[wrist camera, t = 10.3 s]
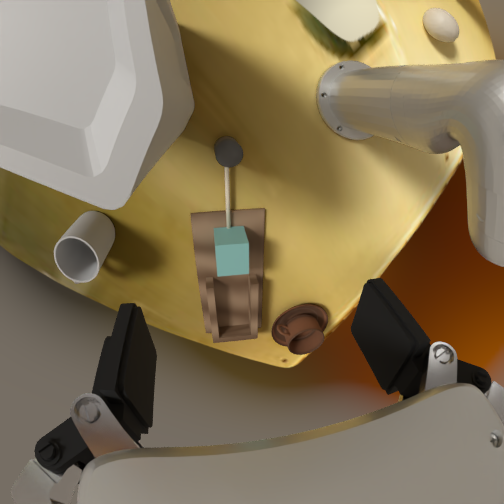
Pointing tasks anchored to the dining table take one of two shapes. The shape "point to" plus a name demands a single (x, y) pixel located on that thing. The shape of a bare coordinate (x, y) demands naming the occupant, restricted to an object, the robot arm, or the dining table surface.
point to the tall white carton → (90, 93)
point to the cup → (85, 246)
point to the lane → (234, 286)
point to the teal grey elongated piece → (229, 238)
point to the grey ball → (441, 25)
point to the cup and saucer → (300, 328)
